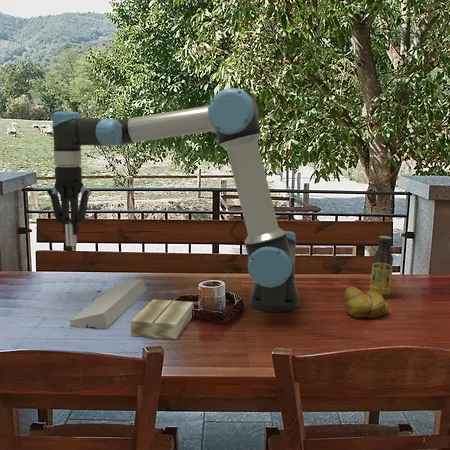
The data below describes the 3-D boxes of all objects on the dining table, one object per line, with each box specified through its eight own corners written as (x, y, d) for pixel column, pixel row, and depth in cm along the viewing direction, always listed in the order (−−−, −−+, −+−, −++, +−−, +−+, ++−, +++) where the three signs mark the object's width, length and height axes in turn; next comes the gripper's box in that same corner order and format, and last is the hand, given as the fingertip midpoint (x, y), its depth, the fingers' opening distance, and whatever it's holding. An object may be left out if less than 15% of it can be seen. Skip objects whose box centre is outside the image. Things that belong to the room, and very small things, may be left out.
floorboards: (193, 315, 147) (193, 301, 146) (176, 339, 130) (175, 323, 129) (153, 312, 149) (153, 298, 148) (131, 335, 132) (130, 319, 131)
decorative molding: (74, 337, 138) (108, 330, 136) (69, 320, 137) (103, 313, 135) (119, 298, 171) (146, 292, 169) (115, 284, 171) (142, 278, 169)
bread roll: (384, 309, 154) (385, 284, 152) (394, 321, 144) (396, 294, 143) (341, 309, 154) (342, 283, 153) (348, 320, 144) (350, 293, 143)
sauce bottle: (368, 298, 164) (372, 237, 161) (370, 292, 170) (374, 234, 167) (389, 300, 162) (394, 239, 159) (391, 295, 168) (395, 235, 164)
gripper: (95, 165, 151) (98, 243, 155) (53, 164, 153) (56, 241, 157) (84, 167, 144) (87, 249, 148) (39, 166, 146) (43, 246, 150)
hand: (71, 245), depth 153 cm, fingers closed
